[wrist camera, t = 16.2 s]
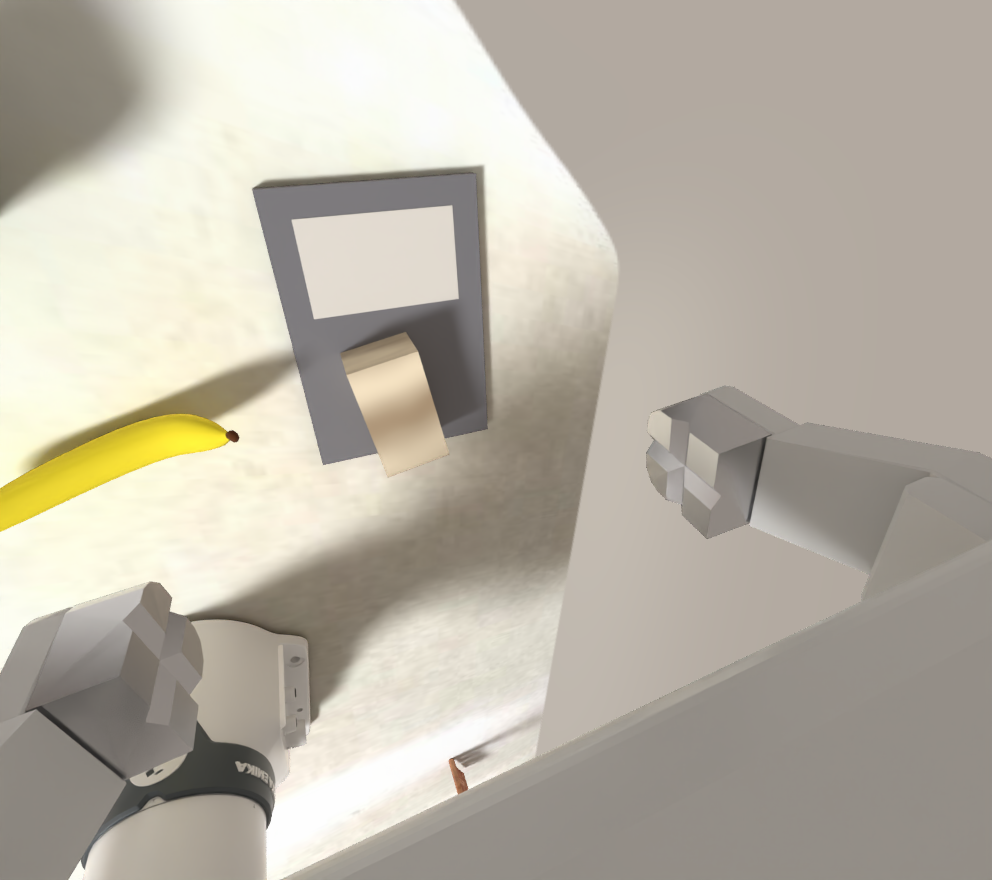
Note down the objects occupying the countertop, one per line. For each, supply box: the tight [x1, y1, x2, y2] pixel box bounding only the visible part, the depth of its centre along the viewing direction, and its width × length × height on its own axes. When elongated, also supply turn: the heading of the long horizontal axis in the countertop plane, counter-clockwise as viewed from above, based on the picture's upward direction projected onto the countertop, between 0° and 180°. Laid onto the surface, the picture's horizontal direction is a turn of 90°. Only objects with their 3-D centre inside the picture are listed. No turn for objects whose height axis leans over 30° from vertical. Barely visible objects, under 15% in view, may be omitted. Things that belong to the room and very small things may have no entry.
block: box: [340, 332, 449, 477], centre depth 39 cm, size 9×5×4 cm, turn 11°
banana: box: [0, 414, 239, 532], centre depth 33 cm, size 3×19×6 cm, turn 106°
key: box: [449, 758, 468, 794], centre depth 67 cm, size 6×1×15 cm, turn 22°
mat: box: [252, 173, 488, 465], centre depth 38 cm, size 20×14×1 cm
